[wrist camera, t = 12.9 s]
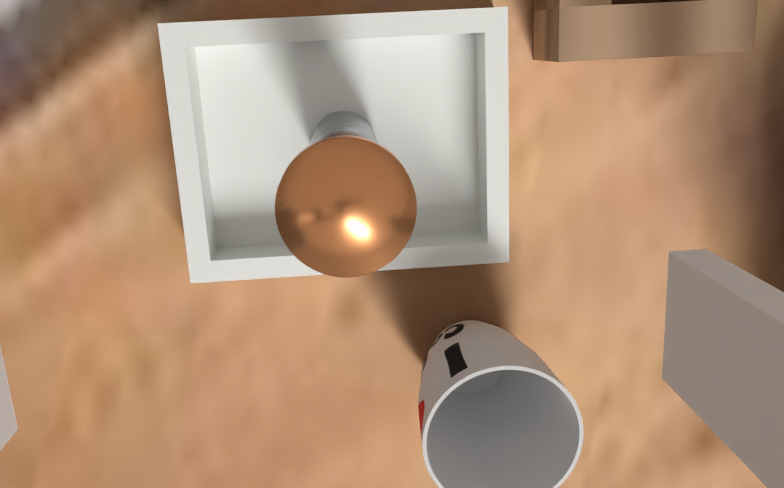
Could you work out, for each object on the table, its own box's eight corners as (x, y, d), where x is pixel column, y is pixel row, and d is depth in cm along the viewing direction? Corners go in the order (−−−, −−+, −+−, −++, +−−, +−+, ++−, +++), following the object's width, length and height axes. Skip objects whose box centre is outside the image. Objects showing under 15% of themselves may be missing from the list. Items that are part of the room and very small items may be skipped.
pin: (304, 188, 42) (281, 281, 25) (297, 102, 40) (268, 142, 24) (388, 182, 42) (419, 272, 25) (384, 97, 41) (414, 134, 24)
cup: (439, 277, 44) (466, 341, 35) (555, 325, 46) (612, 400, 36) (384, 389, 46) (395, 480, 37) (497, 433, 48) (537, 531, 38)
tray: (202, 264, 43) (190, 283, 40) (172, 24, 40) (157, 23, 36) (496, 245, 44) (509, 262, 41) (494, 9, 40) (507, 6, 37)
